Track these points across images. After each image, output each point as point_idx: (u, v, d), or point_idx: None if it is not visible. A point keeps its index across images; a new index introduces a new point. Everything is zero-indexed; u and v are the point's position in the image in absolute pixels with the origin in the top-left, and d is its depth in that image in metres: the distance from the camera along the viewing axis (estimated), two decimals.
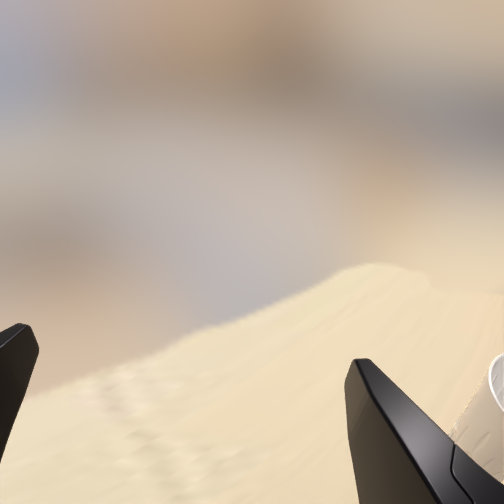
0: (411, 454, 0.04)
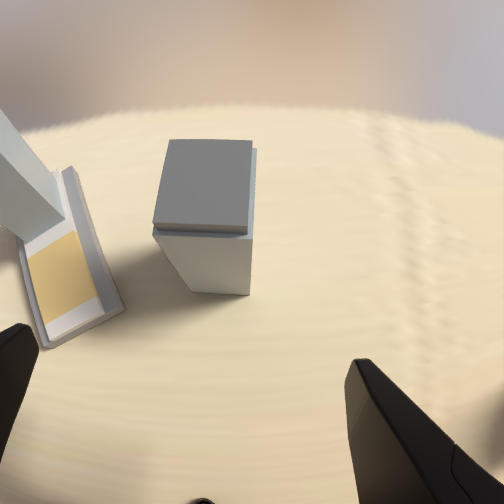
0: (411, 454, 0.04)
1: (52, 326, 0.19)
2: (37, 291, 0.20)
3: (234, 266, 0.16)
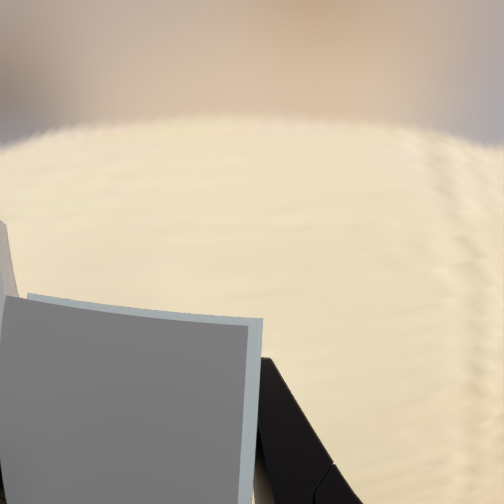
0: (270, 466, 0.04)
1: None
2: None
3: None
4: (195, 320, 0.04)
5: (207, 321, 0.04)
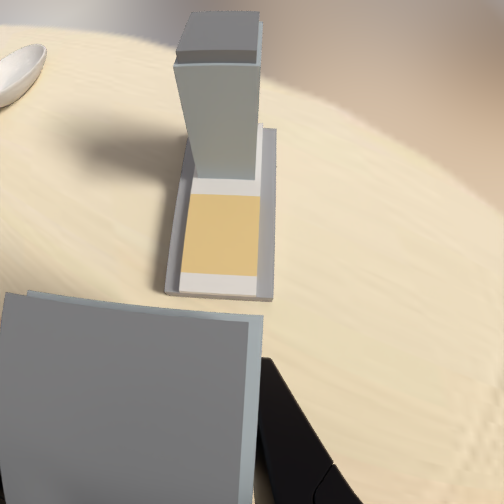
0: (270, 466, 0.04)
1: (190, 278, 0.20)
2: (188, 233, 0.21)
3: None
4: (195, 317, 0.04)
5: (207, 318, 0.04)
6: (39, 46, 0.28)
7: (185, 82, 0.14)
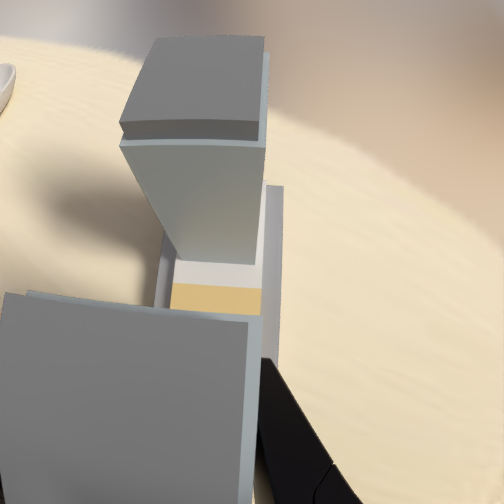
0: (270, 466, 0.04)
1: None
2: None
3: None
4: (195, 317, 0.04)
5: (207, 318, 0.04)
6: (9, 67, 0.24)
7: (143, 167, 0.09)
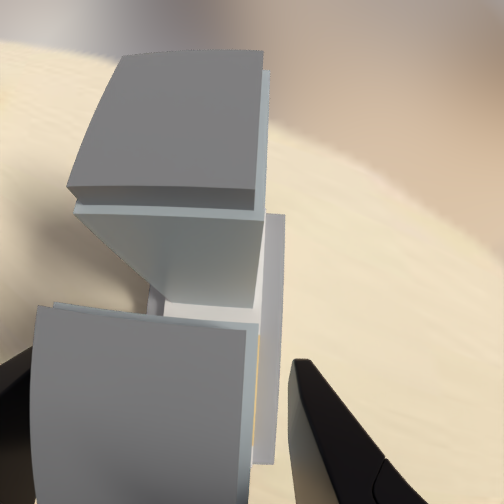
0: (329, 465, 0.04)
1: None
2: None
3: None
4: (202, 325, 0.05)
5: (212, 325, 0.05)
6: None
7: (108, 233, 0.07)
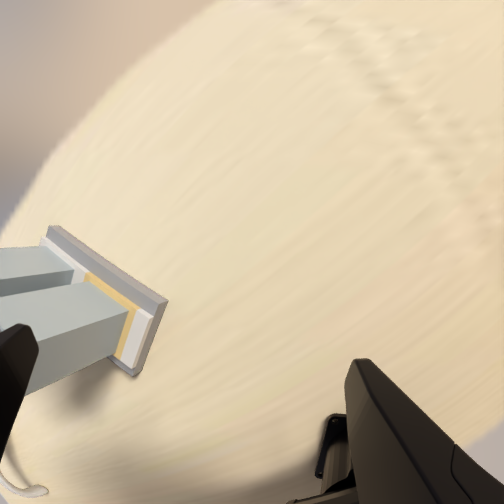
0: (411, 454, 0.04)
1: (125, 357, 0.22)
2: None
3: (64, 342, 0.16)
4: None
5: None
6: None
7: None
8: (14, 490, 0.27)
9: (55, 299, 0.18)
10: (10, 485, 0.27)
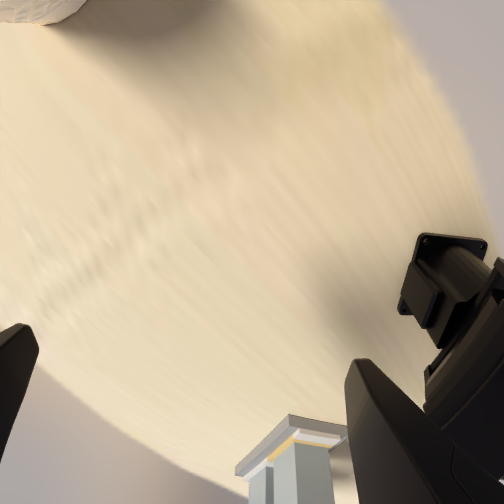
0: (411, 454, 0.04)
1: (331, 442, 0.27)
2: None
3: (305, 499, 0.22)
4: None
5: None
6: None
7: None
8: None
9: (280, 494, 0.24)
10: None
